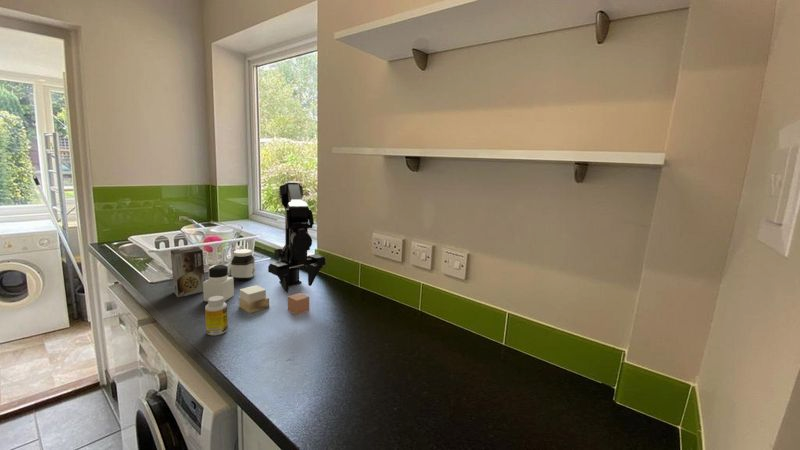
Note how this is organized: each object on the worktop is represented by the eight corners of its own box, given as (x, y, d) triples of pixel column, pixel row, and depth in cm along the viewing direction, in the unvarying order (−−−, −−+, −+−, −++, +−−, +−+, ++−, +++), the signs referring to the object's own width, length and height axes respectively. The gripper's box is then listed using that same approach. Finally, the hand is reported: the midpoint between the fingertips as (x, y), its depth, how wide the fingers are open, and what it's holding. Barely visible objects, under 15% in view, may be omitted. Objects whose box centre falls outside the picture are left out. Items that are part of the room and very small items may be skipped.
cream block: (256, 293, 122) (256, 285, 121) (265, 298, 118) (265, 289, 118) (239, 297, 117) (239, 289, 117) (248, 303, 114) (248, 294, 113)
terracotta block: (300, 306, 121) (300, 292, 120) (309, 310, 118) (309, 296, 117) (287, 310, 117) (287, 296, 117) (296, 314, 114) (296, 300, 113)
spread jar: (247, 282, 141) (246, 254, 139) (219, 281, 141) (218, 253, 139) (259, 273, 153) (259, 247, 151) (233, 272, 153) (233, 246, 151)
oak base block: (258, 301, 123) (258, 292, 123) (269, 307, 119) (269, 298, 118) (239, 307, 118) (239, 297, 118) (249, 313, 114) (249, 303, 113)
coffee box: (200, 287, 134) (198, 246, 131) (205, 291, 129) (203, 249, 126) (172, 292, 127) (170, 249, 125) (177, 297, 123) (174, 253, 120)
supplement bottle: (226, 335, 99) (225, 301, 97) (204, 337, 97) (202, 302, 95) (228, 326, 104) (227, 293, 103) (208, 328, 102) (206, 295, 101)
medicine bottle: (234, 295, 127) (233, 263, 125) (222, 303, 120) (221, 269, 118) (216, 293, 128) (214, 262, 126) (203, 301, 121) (201, 268, 119)
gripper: (307, 235, 126) (307, 276, 129) (258, 243, 112) (259, 289, 114) (327, 241, 119) (326, 284, 122) (277, 249, 105) (278, 298, 107)
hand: (298, 288), depth 117 cm, fingers open, 9 cm apart
